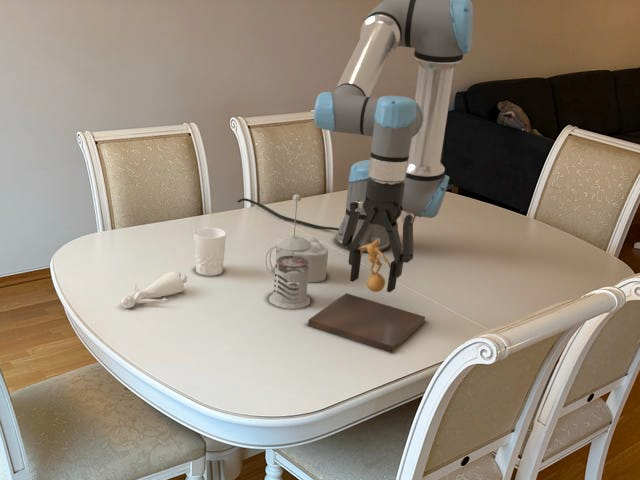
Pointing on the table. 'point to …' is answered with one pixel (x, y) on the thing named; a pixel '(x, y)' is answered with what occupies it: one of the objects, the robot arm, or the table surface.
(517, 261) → the table surface
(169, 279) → the woman figurine
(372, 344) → the walnut board
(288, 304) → the french press
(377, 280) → the figurine
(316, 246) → the lumpy-topped squat cylinder
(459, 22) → the robot arm
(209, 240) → the white cup
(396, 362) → the table surface
